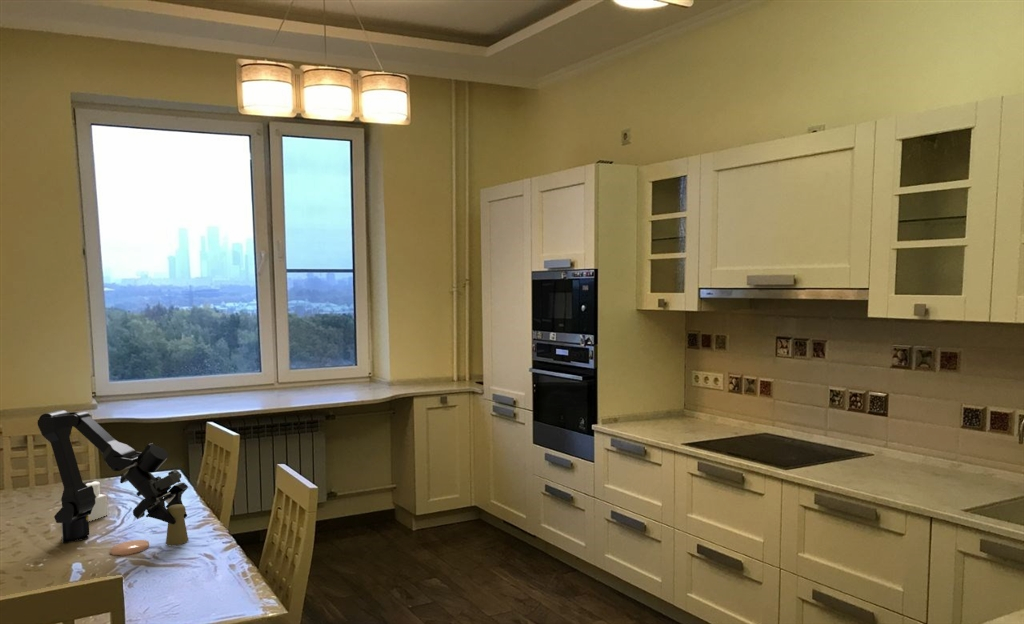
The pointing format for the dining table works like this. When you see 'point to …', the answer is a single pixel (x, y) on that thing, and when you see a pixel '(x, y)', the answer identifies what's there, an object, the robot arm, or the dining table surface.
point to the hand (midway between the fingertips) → (180, 520)
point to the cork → (177, 526)
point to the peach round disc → (129, 547)
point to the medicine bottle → (97, 502)
